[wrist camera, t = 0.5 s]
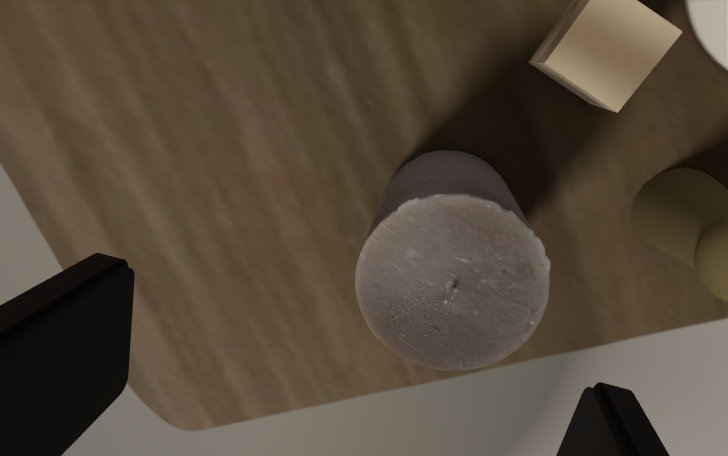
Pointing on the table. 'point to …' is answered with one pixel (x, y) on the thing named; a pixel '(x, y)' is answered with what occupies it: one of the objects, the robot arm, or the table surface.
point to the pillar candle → (451, 265)
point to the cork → (687, 222)
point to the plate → (710, 27)
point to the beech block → (604, 49)
